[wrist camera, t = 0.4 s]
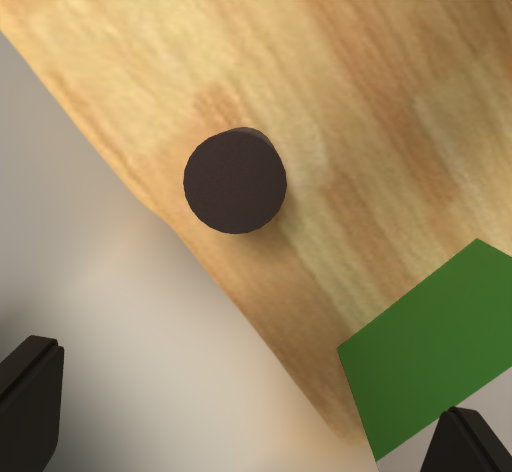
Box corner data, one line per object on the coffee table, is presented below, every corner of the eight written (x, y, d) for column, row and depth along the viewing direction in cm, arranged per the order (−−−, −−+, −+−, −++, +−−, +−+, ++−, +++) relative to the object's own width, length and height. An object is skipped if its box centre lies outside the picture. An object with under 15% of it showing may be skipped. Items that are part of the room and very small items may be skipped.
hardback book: (381, 393, 45) (511, 683, 22) (337, 348, 43) (425, 607, 20) (519, 290, 42) (847, 503, 18) (476, 238, 40) (773, 398, 17)
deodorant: (220, 118, 37) (196, 117, 23) (284, 137, 38) (300, 148, 23) (204, 182, 39) (172, 218, 24) (265, 199, 39) (270, 245, 25)
